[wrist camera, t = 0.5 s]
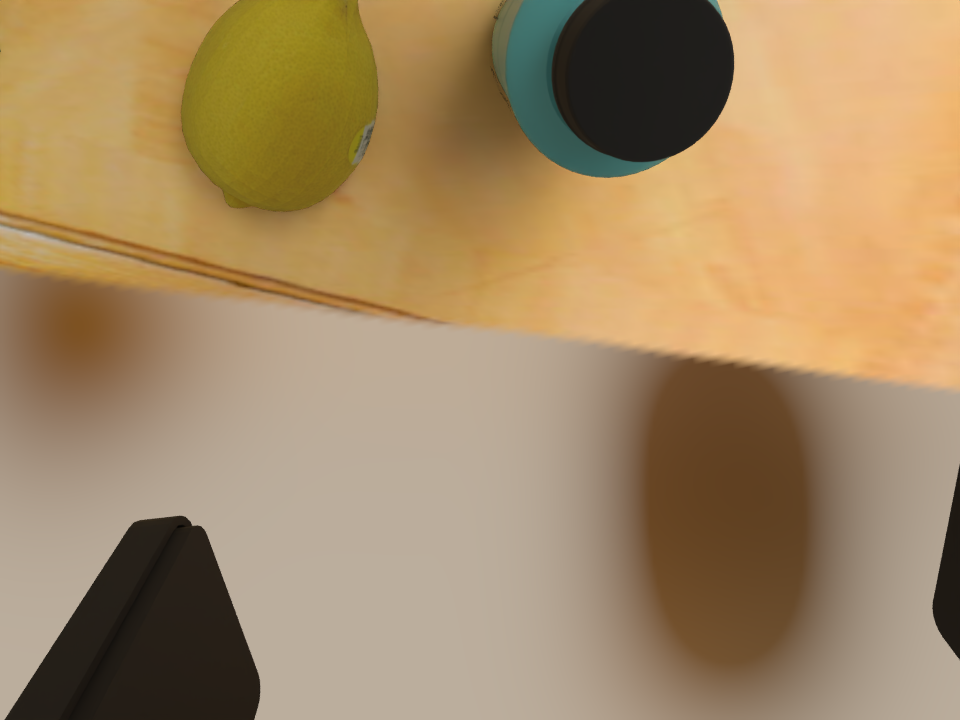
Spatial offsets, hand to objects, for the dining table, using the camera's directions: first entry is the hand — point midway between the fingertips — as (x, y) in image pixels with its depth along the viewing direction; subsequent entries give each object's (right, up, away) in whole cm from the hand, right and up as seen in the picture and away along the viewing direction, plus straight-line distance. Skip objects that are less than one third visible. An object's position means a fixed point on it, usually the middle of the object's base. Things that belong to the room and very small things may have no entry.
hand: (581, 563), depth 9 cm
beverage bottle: (+2, +18, +25) cm, 31 cm away
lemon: (-10, +16, +26) cm, 32 cm away
